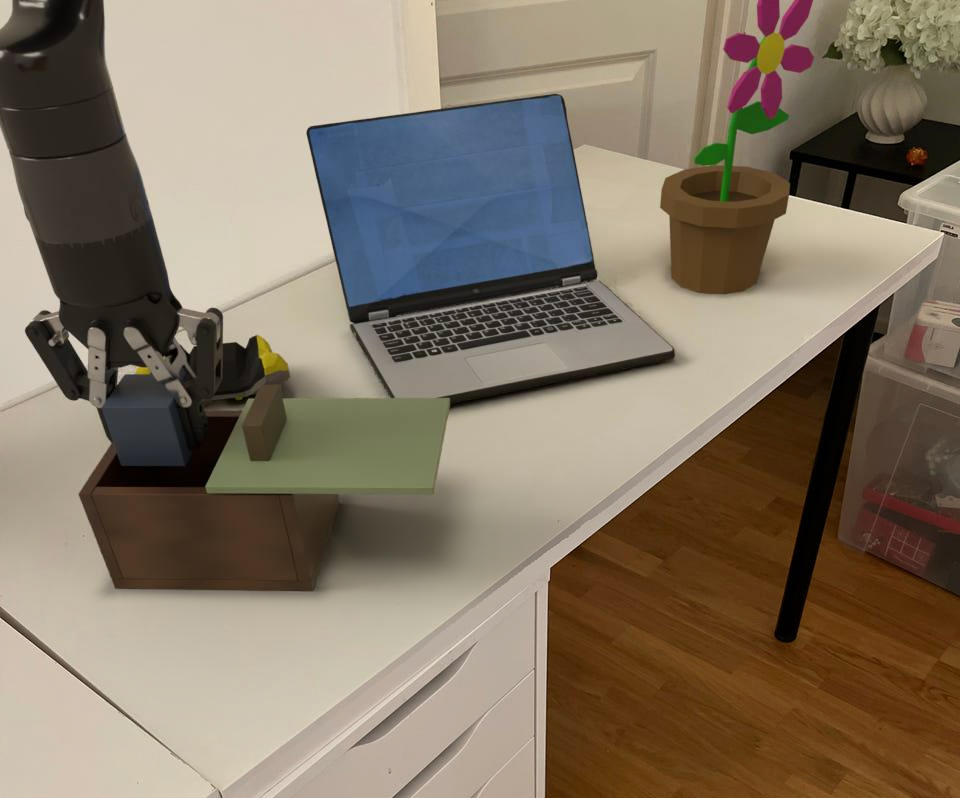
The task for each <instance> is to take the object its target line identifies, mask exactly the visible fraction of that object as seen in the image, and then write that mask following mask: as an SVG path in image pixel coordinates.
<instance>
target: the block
mask: <svg viewBox="0 0 960 798" xmlns="http://www.w3.org/2000/svg"><path fill="white" fill-rule="evenodd" d="M178 406H179V405H178V404H177V403H176V401H175V400H174V398H173V397H172V395H171V394H170V393H169V391H168V390H167V388H166V387H165V385H164V384H162V383H159V382H158V381H157V380H156V379H155V377H154V376H153V374H135V373H125V374H124V375H123V376H122V378H121V379H120V380H119V382H117V386H116V387H115V389H114V390H113V392H112V393H111V394H110V396H109V397H108V399H107V400H106V402H105V403H104V404H103V406H102V410H103V413H104V416H105V419H106V422H107V425H108V428H109V431H110V434H111V436H112V439H113V442H114V445H115V448H116V451H117V454H118V457H119V460H120V463H121V465H122V466H186V464H187V462H188V460H189V458H190V457H191V455H192V453H193V451H194V449H189V448H188V446H187V442H186V439H185V435H184V431H183V428H182V424H181V421H180V417H179V414H178V410H177V407H178Z"/></svg>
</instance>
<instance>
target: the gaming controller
mask: <svg viewBox="0 0 960 798" xmlns="http://www.w3.org/2000/svg"><path fill="white" fill-rule="evenodd" d="M179 345H180V346H181V348H182V349H183V351H184V352H185V354H186V357H187V363H188V365H189V366H190V368H191V369H192V371H193V372H194V374H195V375H196V377H197V345H193V347H192V349H191V351H190V352H188V351H187V350H186V349H185V348H184V346H182V344H180V343H179ZM163 358H164V359H165V356H164V357H163ZM136 368H137V369H136V370H135V372H134V374H152V373H151V371H150V370H149V369H148V367H138V366H137V367H136ZM290 378H291V373H290V369H289V364H288V362H287V361H286V360H285V359H284V358H283V357H282V356H281V355H280V354H279V353H278V352H273V350H272V348H271V345H270V344H269V342H268V341H267V340H266V339H265V338H264V337H263V336H261V335H260V334H258V333H256V334H255V335H252V336H251V337H249V338H248V342H247V344H246V346H245V347H244V346H243V345H241V344H240V343H238V342H236V341H233V342H223V368H222V381H221V383H220V384H219V386H218V388H217V390H216V392H215V394H214V395H213V397H212V398H211V399H209V400H206V399H202V401H203V405H204V406H206V405H209V404H211V402H213V401H214V400H225V399H235V401H241V400H243V398H247V397H249V396H253V395H257V393H258V391H259V389H260V386H261V385H280V387H281V386H283V385H284V384H285V382H287V381H288V380H289V379H290Z"/></svg>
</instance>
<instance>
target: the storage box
mask: <svg viewBox="0 0 960 798" xmlns="http://www.w3.org/2000/svg"><path fill="white" fill-rule="evenodd" d="M242 411H243V409H242V410H241V409H240V410H236V409H235V410H234V409H233V410H231V409H230V410H227V409H225V410H221V409H220V410H216V409H215V410H205V412H206V416H207V421H208V424H209V432H208V434H207V436H206V438H205V440H204V442H202V444H201V446H200V448H199V449H194V451H193V453H192V455H191V457H190V458H189V460H188V462H187V464H186V466H122V465H121V463H120V460H119V457H118V454H117V451H116V448H115V445H114V443H111V442H110V445H109V446H108V448H107V449H106V451H105V453H104V454H103V455H102V457H101V458H100V460H99V461H98V463H97V464H96V466H95V467H94V469H93V471H92V472H91V474H90V475H89V477H88V479H87V480H86V481H85V483H84V485H82V487H81V489H80V490H79V492H78V497H79V500H80V502H81V506H82V508H83V510H84V512H85V515H86V518H87V520H88V523H89V525H90V528H91V531H92V534H93V536H94V538H95V541H96V544H97V546H98V548H99V551H100V554H101V557H102V559H103V561H104V563H105V567H106V569H107V572H108V574H109V577H110V579H111V582H112V584H113V587H114V589H139V590H140V589H143V590H145V589H150V590H151V589H152V590H154V589H155V590H158V589H159V590H218V591H219V590H223V591H227V590H228V591H231V590H232V591H295V592H297V591H298V592H299V591H300V592H301V591H303V592H304V591H305V592H312V591H313V590H314V587H315V583H316V581H317V578H318V574H319V572H320V568H321V565H322V561H323V558H324V555H325V551H326V548H327V545H328V542H329V538H330V536H331V535H330V534H331V532H332V529H333V525H334V521H335V519H336V515H337V513H338V509H339V505H340V497H339V494H259V493H207V491H206V487H205V486H206V484H207V482H208V480H209V478H210V476H211V474H212V472H213V470H214V468H215V466H216V464H217V462H218V460H219V458H220V456H221V454H222V452H223V450H224V448H225V445H226V443H227V441H228V439H229V437H230V435H231V433H232V431H233V429H234V427H235V425H236V423H237V421H238V419H239V417H240V415H241V413H242Z"/></svg>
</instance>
